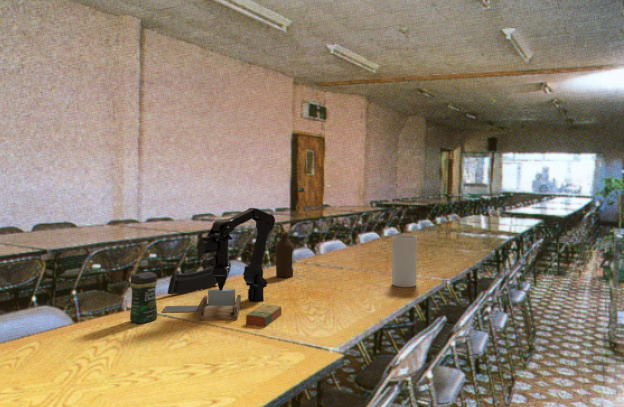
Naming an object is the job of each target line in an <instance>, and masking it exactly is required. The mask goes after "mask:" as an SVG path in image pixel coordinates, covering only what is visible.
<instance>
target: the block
mask: <svg viewBox="0 0 624 407" xmlns="http://www.w3.org/2000/svg"><path fill="white" fill-rule="evenodd" d="M235 302H236V289H235V288H226V289H225V288H223V289H222V291H219V288H218V289H216V288H214V289H208V291H207V304H208V306H235Z"/></svg>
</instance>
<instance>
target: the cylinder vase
mask: <svg viewBox="0 0 624 407" xmlns="http://www.w3.org/2000/svg"><path fill="white" fill-rule="evenodd" d="M391 237H392V239H391V240H392V241H391V242H392V244H391V246H392V248H391V251H392V252H391V254H392V255H391V284H392V285H393V286H395V287H398V288H399V287H400V288H413V287H416V285H417V280H418V278H417V275H418V271H417V269H418V268H417V267H418V266H417V264H418V236H416V235H415V236H414V235H405V234H404V235H399V234H398V235H392V236H391Z"/></svg>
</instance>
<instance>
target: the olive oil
mask: <svg viewBox="0 0 624 407" xmlns="http://www.w3.org/2000/svg"><path fill="white" fill-rule="evenodd" d="M288 233H289V232H288V231H282V232H281V239H280V240H279V241H278V242H277V243H276V245H275V247H274V248H275V249H274V250H275V252H274V254H275V276H276V277H277V278H278V279H279V278H280V279H288V278H289V279H290V278H292V277H294V262H295V246H294V244H293V243H292V242H291V241H290V240H289V238H288V236H289V234H288Z"/></svg>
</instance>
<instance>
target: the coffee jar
mask: <svg viewBox="0 0 624 407" xmlns="http://www.w3.org/2000/svg"><path fill="white" fill-rule="evenodd" d="M157 277H158V276H157V274H156V272H152V271H146V272H139V273H134V274H131V276H130V281H129V286H130V288H131V304H130V313H129V315H130V316H129V319H130V322H132V323H134V324H145V323H149V322H152V321H155V320H157V318H158V309H157V298H156V288H157V287H156V286H157V285H158V279H157Z"/></svg>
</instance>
